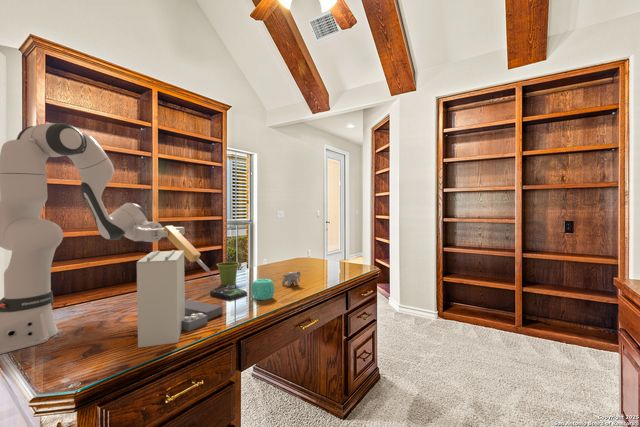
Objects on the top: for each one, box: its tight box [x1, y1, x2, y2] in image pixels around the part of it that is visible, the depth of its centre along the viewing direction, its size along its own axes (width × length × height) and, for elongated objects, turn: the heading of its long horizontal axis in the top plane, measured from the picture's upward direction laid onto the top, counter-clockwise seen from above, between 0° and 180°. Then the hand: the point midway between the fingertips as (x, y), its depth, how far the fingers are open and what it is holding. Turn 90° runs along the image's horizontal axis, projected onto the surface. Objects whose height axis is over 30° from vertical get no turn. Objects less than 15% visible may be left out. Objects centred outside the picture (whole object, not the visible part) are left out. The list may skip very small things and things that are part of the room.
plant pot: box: [216, 261, 240, 286], centre depth 171 cm, size 12×12×11 cm
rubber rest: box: [185, 299, 223, 321], centre depth 124 cm, size 8×20×3 cm, turn 63°
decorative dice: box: [251, 278, 275, 301], centre depth 145 cm, size 8×8×8 cm
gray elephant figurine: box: [281, 271, 301, 288], centre depth 167 cm, size 9×12×8 cm
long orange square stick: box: [163, 225, 212, 274], centre depth 126 cm, size 30×3×3 cm
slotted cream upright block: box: [136, 249, 186, 349], centre depth 106 cm, size 22×11×27 cm, turn 18°
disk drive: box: [210, 286, 248, 301], centre depth 149 cm, size 10×3×15 cm
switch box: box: [182, 313, 208, 332], centre depth 111 cm, size 8×5×4 cm, turn 153°
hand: (173, 233), depth 130 cm, fingers closed on long orange square stick, 3 cm apart
